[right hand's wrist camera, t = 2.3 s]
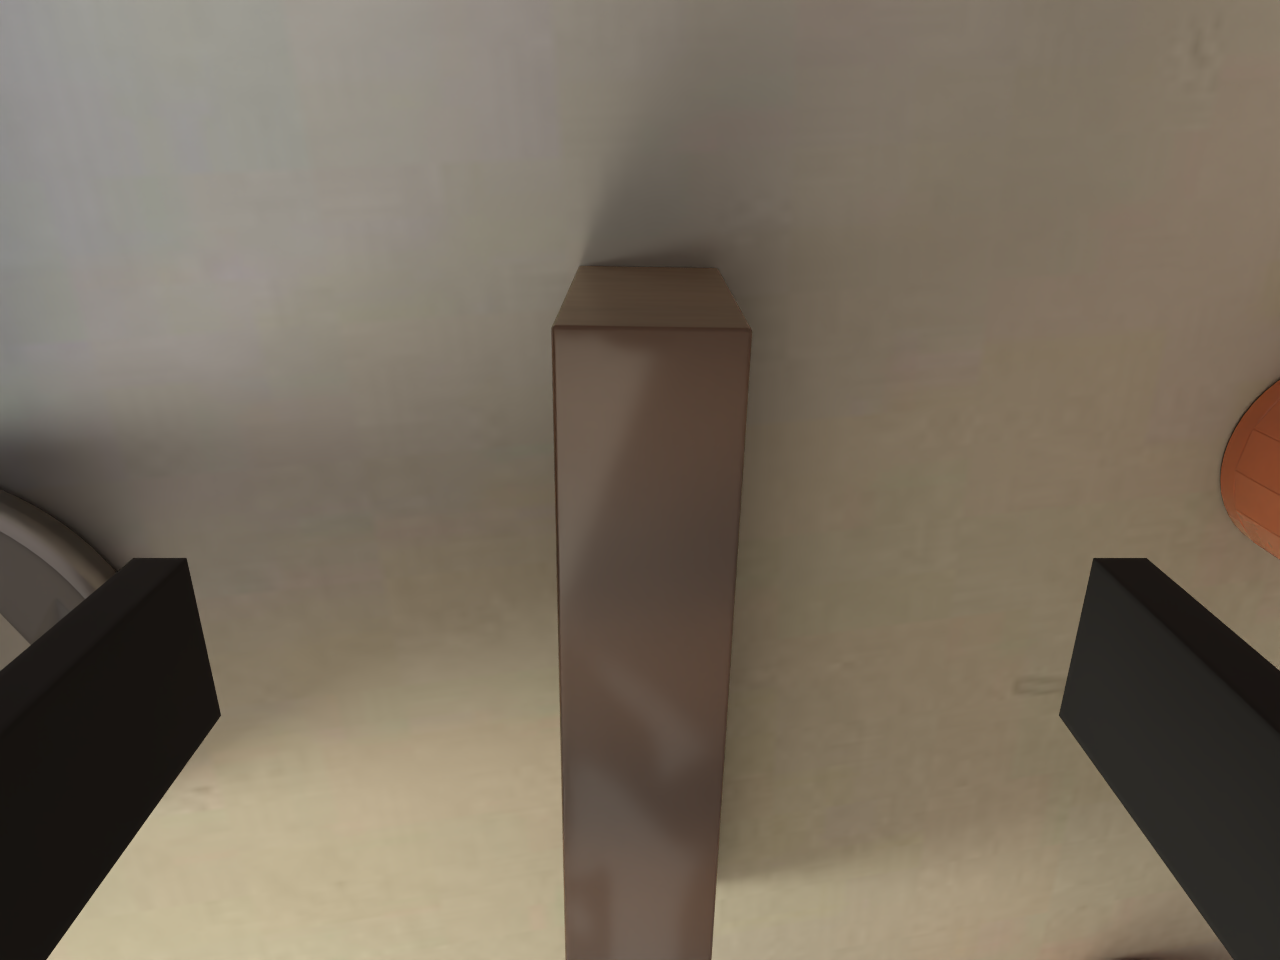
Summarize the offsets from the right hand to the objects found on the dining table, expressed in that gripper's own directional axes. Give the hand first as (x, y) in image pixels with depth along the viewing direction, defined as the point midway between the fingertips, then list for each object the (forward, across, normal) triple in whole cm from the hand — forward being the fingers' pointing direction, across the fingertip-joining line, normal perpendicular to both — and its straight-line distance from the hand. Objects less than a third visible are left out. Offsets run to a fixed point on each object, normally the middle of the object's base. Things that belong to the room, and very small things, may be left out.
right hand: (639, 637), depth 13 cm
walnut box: (+17, 0, +10) cm, 19 cm away
